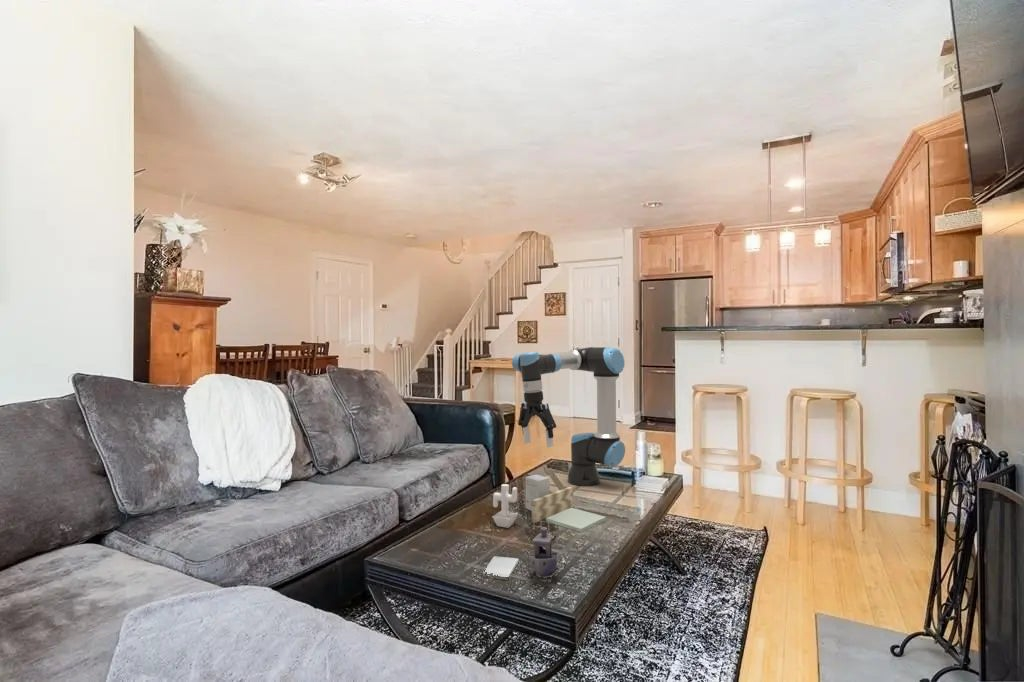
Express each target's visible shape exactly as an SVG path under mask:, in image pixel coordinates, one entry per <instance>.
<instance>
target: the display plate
mask: <svg viewBox="0 0 1024 682" xmlns="http://www.w3.org/2000/svg"><path fill="white" fill-rule="evenodd" d="M606 520H607V517H606V516H603V515H599V514H597V513H593V512H589V511H585V510H582V509H578V508H574V507H572V508H569V509H567V510H564V511H562V512H560V513H557V514H555V515H552V516H550V517H548V518H545V522H548V523H550V524H554V525H557V526H560V527H564V528H566V529H569V530H572V531H576V532H580V533H582V532H584V531H586V530H589V529H591V528H592V527H595V526H597V525H599V524H600V523H602V522H605V521H606Z"/></svg>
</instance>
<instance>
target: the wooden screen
mask: <svg viewBox="0 0 1024 682" xmlns="http://www.w3.org/2000/svg"><path fill="white" fill-rule="evenodd" d="M569 508H574V487H572V486H567V487H564V488H562V489H560V490H557V491H554V492H550V494H548V495H545V496H543V497H540V498H537V499H535V500H532V511H531V523H534V524H535V523H538V522H541V521H542V520H543V521H544V520H546V518H548V517H550V516H553V515H555V514H557V513H560V512H562V511H565V510H567V509H569Z"/></svg>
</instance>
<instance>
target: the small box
mask: <svg viewBox="0 0 1024 682" xmlns="http://www.w3.org/2000/svg"><path fill="white" fill-rule="evenodd" d="M524 479H525V509H526V510H529V511H531V512H532V500H535V499H537V498H540V497H543V496H545V495H548V494H551V492H550V488H551V487H550V478H549V477H546V476H542V475H540V474H532V475H528V476H525V478H524Z"/></svg>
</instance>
